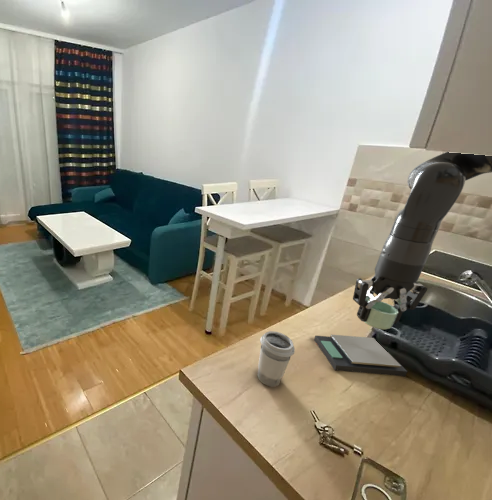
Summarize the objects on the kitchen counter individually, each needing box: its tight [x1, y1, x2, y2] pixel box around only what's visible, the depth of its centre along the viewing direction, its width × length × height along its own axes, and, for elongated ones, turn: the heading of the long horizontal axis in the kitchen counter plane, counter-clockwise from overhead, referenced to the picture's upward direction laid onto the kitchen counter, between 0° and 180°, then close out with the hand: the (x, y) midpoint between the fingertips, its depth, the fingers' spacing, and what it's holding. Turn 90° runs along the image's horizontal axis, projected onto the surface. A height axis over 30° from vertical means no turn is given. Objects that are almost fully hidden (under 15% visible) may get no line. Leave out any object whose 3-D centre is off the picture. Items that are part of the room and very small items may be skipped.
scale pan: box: [329, 334, 402, 367], centre depth 73 cm, size 11×10×1 cm
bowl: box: [364, 299, 398, 330], centre depth 68 cm, size 6×6×4 cm
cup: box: [257, 330, 296, 388], centre depth 65 cm, size 7×7×12 cm
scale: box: [313, 335, 408, 377], centre depth 74 cm, size 16×11×3 cm
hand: (376, 320), depth 69 cm, fingers closed on bowl, 6 cm apart
